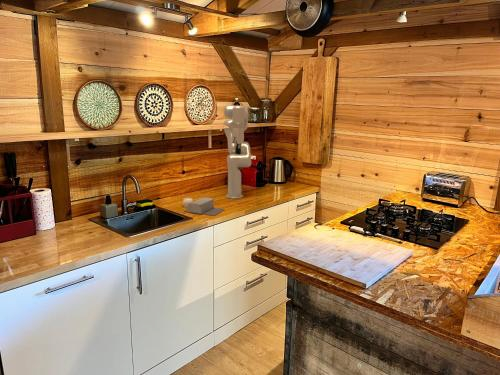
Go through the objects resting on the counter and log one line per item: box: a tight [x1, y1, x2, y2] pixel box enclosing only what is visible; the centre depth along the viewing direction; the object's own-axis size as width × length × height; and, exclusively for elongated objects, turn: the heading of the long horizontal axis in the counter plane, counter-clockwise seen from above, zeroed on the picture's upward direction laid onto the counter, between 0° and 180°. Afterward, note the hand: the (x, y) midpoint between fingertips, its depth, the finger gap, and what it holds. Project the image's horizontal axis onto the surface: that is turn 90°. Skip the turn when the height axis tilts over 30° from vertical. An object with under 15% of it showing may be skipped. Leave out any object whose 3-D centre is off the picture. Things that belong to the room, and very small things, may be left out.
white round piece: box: [182, 197, 193, 208], centre depth 255 cm, size 6×6×5 cm
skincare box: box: [190, 196, 215, 215], centre depth 244 cm, size 8×7×16 cm
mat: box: [183, 207, 226, 217], centre depth 245 cm, size 15×22×1 cm
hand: (238, 154), depth 250 cm, fingers closed
